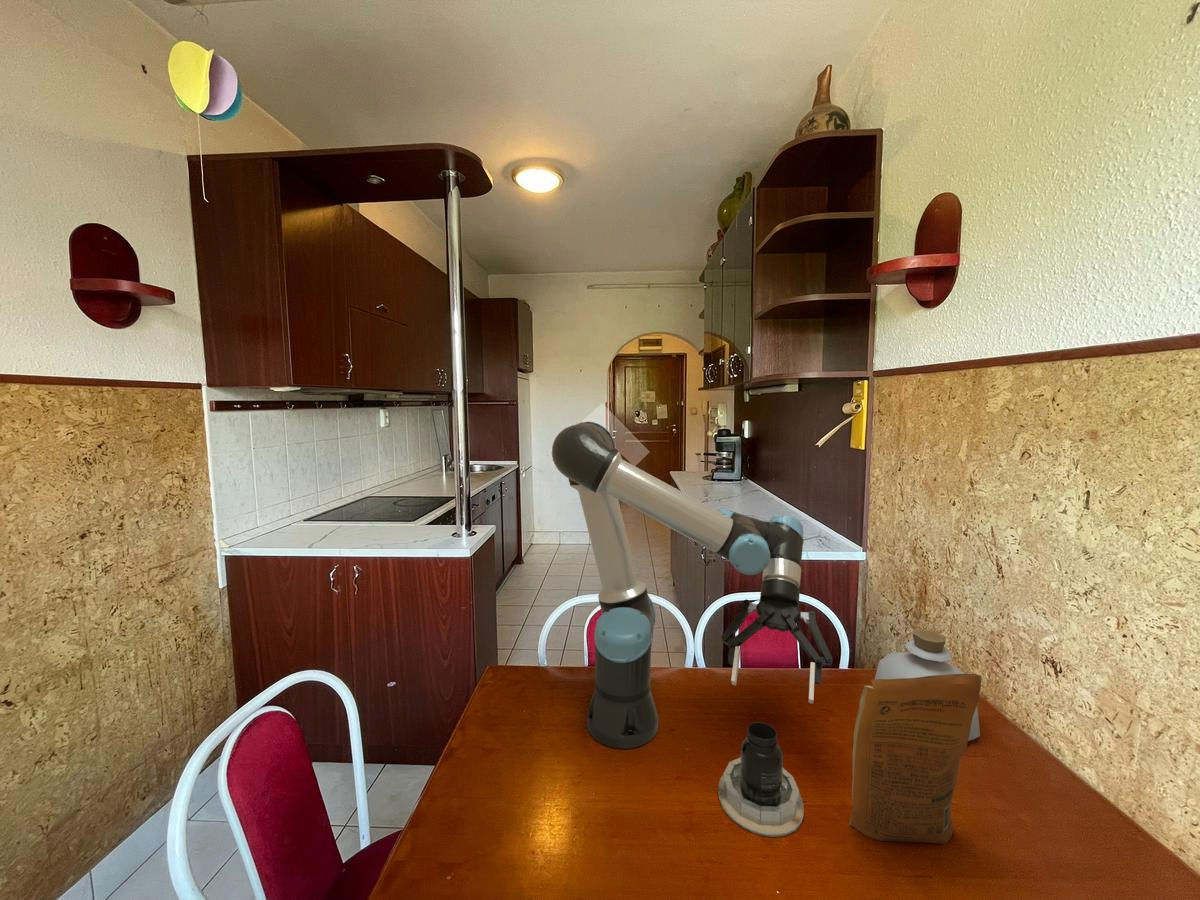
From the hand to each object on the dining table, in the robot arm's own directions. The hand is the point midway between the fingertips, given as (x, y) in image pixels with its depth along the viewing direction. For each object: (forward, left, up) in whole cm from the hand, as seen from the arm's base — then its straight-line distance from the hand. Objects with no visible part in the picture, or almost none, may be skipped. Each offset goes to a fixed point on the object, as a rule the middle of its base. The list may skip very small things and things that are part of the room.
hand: (771, 692), depth 91 cm
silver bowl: (+1, -9, -15) cm, 17 cm away
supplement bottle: (+1, -9, -14) cm, 17 cm away
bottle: (+25, +33, -15) cm, 44 cm away
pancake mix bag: (+22, -2, -15) cm, 27 cm away
